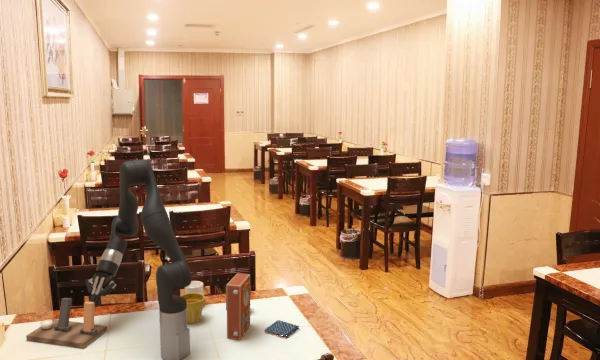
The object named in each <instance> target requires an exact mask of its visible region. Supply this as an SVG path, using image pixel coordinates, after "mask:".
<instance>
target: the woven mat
mask: <svg viewBox="0 0 600 360" xmlns="http://www.w3.org/2000/svg"><path fill="white" fill-rule="evenodd" d="M299 327H300V325H297V324H294V323H291V322H287V321H284V320H280V319H279V320H276V321H275V322H274V321H273V323H272V324H271V325H269V326H268V327H266V328H265V329H264V330H263V331H264V333H265V332H266V334H267V333H268V334H270V333H271V334H272V335H271V334H270V335H271V336H274V335H276V336H277V335H278V336H277V337H278V338H282V337H283V339H284V338H286V339H288V338H289V337H290V336H291V335H293V334H294V333H295V332H296V331H298V330H299V329H300V328H299ZM273 334H274V335H273ZM281 335H283V336H282V337H280V336H281ZM286 335H287V336H286ZM288 336H289V337H288Z"/></svg>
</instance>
